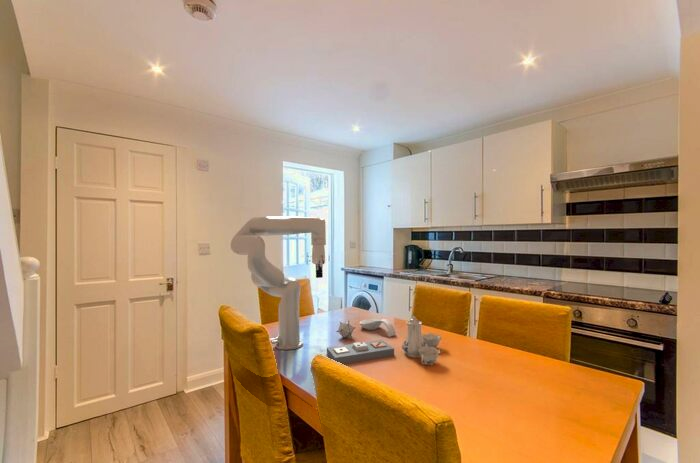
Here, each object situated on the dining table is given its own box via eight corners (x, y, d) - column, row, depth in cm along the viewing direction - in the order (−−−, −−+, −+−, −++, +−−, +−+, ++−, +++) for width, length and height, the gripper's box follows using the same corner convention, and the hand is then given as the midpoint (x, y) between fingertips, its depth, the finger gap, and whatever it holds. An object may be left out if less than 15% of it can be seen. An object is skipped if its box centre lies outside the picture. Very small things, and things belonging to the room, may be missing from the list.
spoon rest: (355, 328, 177) (355, 315, 177) (371, 324, 184) (371, 311, 184) (384, 339, 158) (383, 324, 158) (401, 334, 164) (401, 320, 164)
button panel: (335, 365, 127) (335, 357, 127) (326, 354, 138) (326, 347, 138) (394, 355, 136) (394, 348, 136) (381, 346, 147) (381, 339, 147)
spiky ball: (349, 346, 159) (355, 333, 154) (333, 340, 159) (338, 326, 154) (352, 332, 166) (358, 319, 161) (337, 326, 167) (342, 313, 161)
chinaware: (443, 374, 121) (447, 330, 121) (399, 366, 125) (402, 323, 124) (439, 347, 149) (442, 312, 148) (402, 342, 152) (405, 307, 152)
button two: (356, 352, 134) (356, 346, 134) (352, 348, 138) (352, 342, 138) (368, 351, 135) (367, 345, 135) (363, 347, 140) (363, 341, 140)
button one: (337, 358, 131) (337, 352, 131) (333, 354, 135) (333, 348, 135) (349, 356, 132) (348, 350, 132) (345, 352, 137) (344, 346, 137)
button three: (375, 352, 137) (375, 346, 137) (370, 348, 141) (370, 342, 141) (386, 350, 138) (386, 344, 138) (381, 347, 143) (381, 341, 143)
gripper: (308, 242, 174) (309, 276, 174) (315, 242, 160) (315, 279, 160) (321, 241, 176) (322, 275, 176) (329, 242, 162) (330, 278, 162)
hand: (319, 277), depth 168 cm, fingers closed
